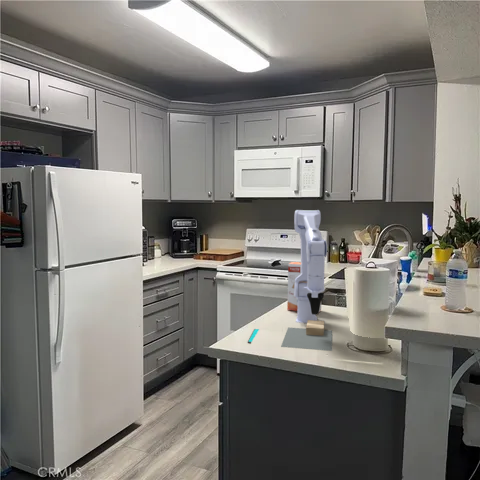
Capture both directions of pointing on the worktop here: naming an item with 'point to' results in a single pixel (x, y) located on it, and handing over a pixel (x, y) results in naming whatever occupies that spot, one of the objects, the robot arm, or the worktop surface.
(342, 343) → the worktop surface
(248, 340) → the smartphone
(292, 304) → the cracker box
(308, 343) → the rubber mat
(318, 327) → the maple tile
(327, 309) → the worktop surface
